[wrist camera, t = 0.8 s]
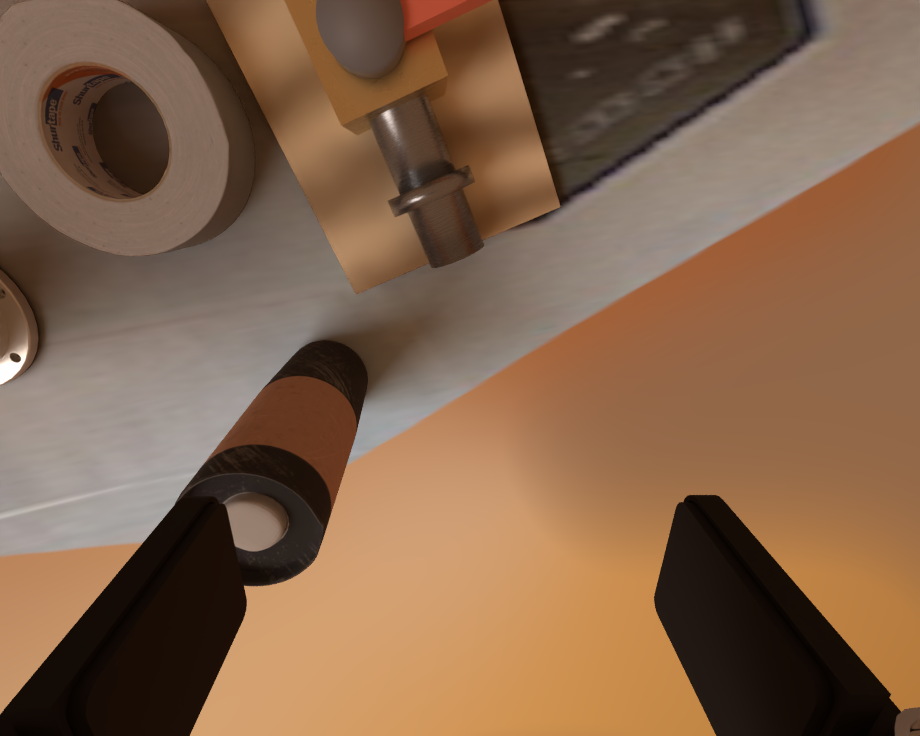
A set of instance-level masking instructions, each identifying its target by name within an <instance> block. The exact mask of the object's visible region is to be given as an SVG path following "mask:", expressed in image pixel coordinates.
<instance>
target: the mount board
mask: <svg viewBox="0 0 920 736" xmlns="http://www.w3.org/2000/svg"><path fill="white" fill-rule="evenodd" d="M206 1H207V3H208V5H209V7H210V9H211V11H212V13H213V15H214V17H215V19H216V21H217V23H218V25H219V27H220V29H221V31H222V33H223V35H224V37H225V39H226V41H227V43H228V45H229V47H230V48H231V50H232V52H233V54H234V56H235V58H236V60H237V62H238V64H239V66H240V68H241V70H242V72H243V74H244V76H245V78H246V80H247V82H248V84H249V86H250V88H251V90H252V92H253V94H254V96H255V97H256V99H257V101H258V103H259V105H260V107H261V109H262V111H263V113H264V115H265V117H266V119H267V121H268V123H269V125H270V127H271V129H272V131H273V133H274V135H275V137H276V139H277V141H278V143H279V145H280V146H281V148H282V150H283V152H284V154H285V156H286V158H287V160H288V162H289V164H290V166H291V168H292V170H293V172H294V174H295V176H296V178H297V180H298V182H299V184H300V186H301V188H302V190H303V192H304V194H305V196H306V197H307V199H308V201H309V203H310V205H311V207H312V209H313V211H314V213H315V215H316V217H317V219H318V221H319V223H320V225H321V227H322V229H323V231H324V233H325V235H326V237H327V239H328V241H329V243H330V245H331V246H332V248H333V250H334V252H335V254H336V256H337V258H338V260H339V262H340V264H341V266H342V268H343V270H344V272H345V274H346V276H347V278H348V280H349V282H350V284H351V286H352V288H353V290H354V292H355V294H358V293H360V292H363V291H365V290H367V289H370V288H372V287H374V286H377V285H379V284H381V283H384V282H386V281H388V280H391V279H393V278H395V277H398V276H400V275H402V274H405V273H407V272H409V271H412V270H414V269H416V268H419V267H421V266H423V265H426V264H428V263H429V261H428V259H427V256H426V254H425V252H424V249H423V247H422V245H421V243H420V240H419V238H418V236H417V233H416V231H415V229H414V226H413V224H412V222H411V219H410V217H409V215H408V213H405V214H403V215H400V216H397V217H394V215H393V212H392V210H391V208H390V206H389V203H388V200H390V199H393V198H395V197H397V196H399V195H400V194H399V192H398V189H397V187H396V185H395V182H394V180H393V178H392V175H391V173H390V171H389V168H388V166H387V164H386V162H385V159H384V157H383V155H382V152H381V150H380V148H379V145H378V143H377V141H376V138H375V136H374V134H373V131H372V129H370V130H368V131H366V132H364V133H362V134H360V135H356V134H354V133H352V132H351V131H349V130H347V129H346V128H344V127H343V126H341V124H340V122H339V120H338V118H337V115H336V113H335V111H334V109H333V107H332V104H331V102H330V100H329V98H328V96H327V93H326V91H325V89H324V87H323V85H322V82H321V80H320V78H319V76H318V74H317V71H316V69H315V67H314V65H313V63H312V60H311V58H310V56H309V54H308V52H307V49H306V47H305V45H304V43H303V41H302V38H301V36H300V34H299V32H298V30H297V27H296V25H295V23H294V21H293V19H292V16H291V14H290V12H289V10H288V8H287V5H286V3H285V1H284V0H206ZM432 31H433V34H434V37H435V40H436V43H437V45H438V48H439V51H440V54H441V57H442V59H443V62H444V65H445V68H446V71H447V73H448V80H447V86H446V92H445V95H444V96H441V97H439V98H437V99H435V100H433V101H431V102H430V103H431V106H432V108H433V111H434V114H435V116H436V119H437V121H438V124H439V127H440V129H441V132H442V135H443V137H444V140H445V143H446V145H447V148H448V151H449V153H450V156H451V158H452V161H453V164H454V166H455V169H456V170H458V169H460V168H462V167H464V166H467V165H469V166H470V169H471V171H472V174H473V177H474V180H475V182H474V183H472V184H470V185H468V186H466V187H464V188H463V190H464V193H465V195H466V198H467V201H468V203H469V206H470V209H471V211H472V214H473V217H474V219H475V222H476V225H477V227H478V230H479V232H480V235H481V238H482V240H484V239H486V238H489V237H491V236H493V235H496V234H498V233H500V232H503V231H505V230H507V229H510V228H512V227H514V226H517V225H519V224H522V223H524V222H526V221H529V220H531V219H533V218H536V217H538V216H540V215H543V214H545V213H547V212H550V211H552V210H554V209H557V208H559V207H560V203H559V200H558V197H557V193H556V190H555V187H554V183H553V180H552V177H551V173H550V170H549V167H548V164H547V160H546V157H545V154H544V150H543V147H542V144H541V140H540V137H539V134H538V131H537V127H536V124H535V121H534V117H533V114H532V111H531V107H530V104H529V101H528V97H527V94H526V91H525V88H524V84H523V81H522V78H521V74H520V71H519V68H518V64H517V61H516V58H515V55H514V51H513V48H512V45H511V41H510V38H509V35H508V31H507V28H506V25H505V21H504V18H503V15H502V12H501V8H500V5H499V2H498V0H492V1H490V2H488V3H486V4H484V5H481V6H479V7H477V8H475V9H473V10H471V11H469V12H467V13H465V14H463V15H461V16H459V17H456V18H454V19H452V20H450V21H448V22H446V23H444V24H442V25H440V26H438V27H436V28H434V29H432Z"/></svg>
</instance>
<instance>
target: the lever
mask: <svg viewBox="0 0 920 736" xmlns="http://www.w3.org/2000/svg"><path fill="white" fill-rule="evenodd" d="M490 1H492V0H317V2H316V21H317V26H318V30H319V33H320V35H321V38H322V40H323V42H324V44H325V45H326V47H327V48H328V50H329V51H330V52H331V54H332V55H333V56H334V57H335V59H336V60H337V61H338V62H339V64H340V65H341V66H342V67H343V68H344V69H345V70H347V71H348V72H349V73H351V74H353V75H354V76H357V77H359V78H363V79H377V78H380V77H383V76H385V75H387V74H388V73H390V72H391V71H392V70H393V69H394V68H395V67H396V66H397V65H398V63H399V62H400V60H401V58H402V55H403V53H404V49H405V44H406V41H409V40H411V39H413V38H415V37H417V36H419V35H421V34H423V33H425V32H427V31H429V30H431V29H434V28H436V27H438V26H440V25H442V24H444V23H446V22H448V21H450V20H452V19H454V18H456V17H459V16H461V15H463V14H465V13H467V12H469V11H471V10H473V9H475V8H477V7H479V6H481V5H484V4H486V3H488V2H490Z"/></svg>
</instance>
